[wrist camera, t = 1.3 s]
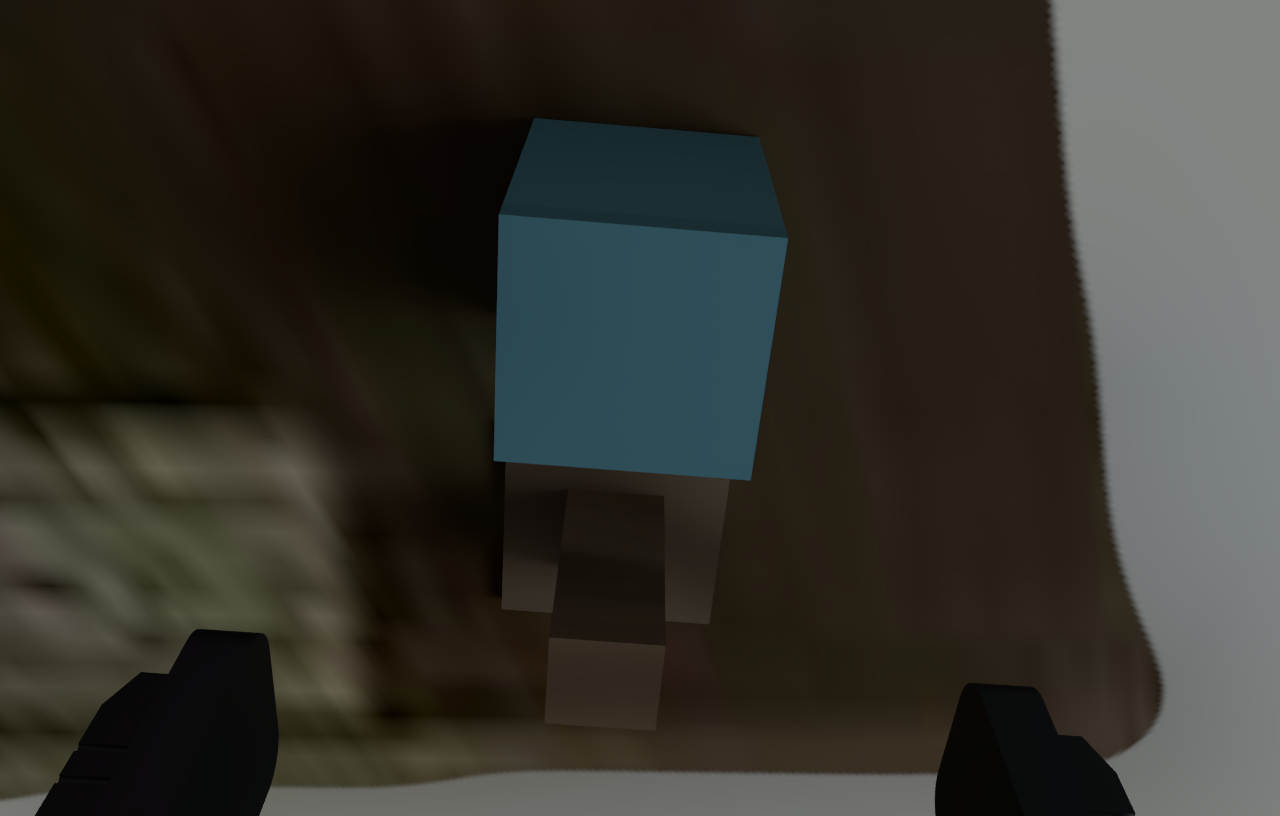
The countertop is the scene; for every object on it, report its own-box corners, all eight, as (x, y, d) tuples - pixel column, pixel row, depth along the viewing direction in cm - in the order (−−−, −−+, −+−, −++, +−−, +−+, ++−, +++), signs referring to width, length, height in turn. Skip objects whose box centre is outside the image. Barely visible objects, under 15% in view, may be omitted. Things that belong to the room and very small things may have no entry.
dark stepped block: (708, 612, 33) (719, 787, 27) (503, 598, 33) (471, 770, 27) (733, 437, 30) (751, 591, 24) (508, 420, 30) (473, 571, 24)
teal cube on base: (731, 339, 28) (750, 480, 23) (526, 323, 28) (493, 460, 22) (758, 137, 26) (787, 238, 20) (534, 117, 26) (498, 214, 20)
